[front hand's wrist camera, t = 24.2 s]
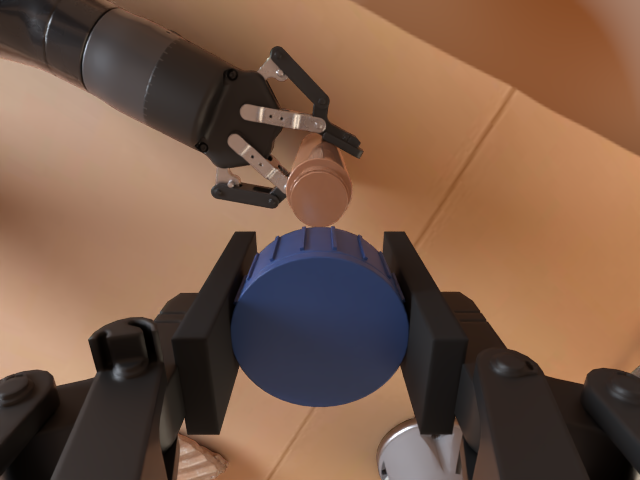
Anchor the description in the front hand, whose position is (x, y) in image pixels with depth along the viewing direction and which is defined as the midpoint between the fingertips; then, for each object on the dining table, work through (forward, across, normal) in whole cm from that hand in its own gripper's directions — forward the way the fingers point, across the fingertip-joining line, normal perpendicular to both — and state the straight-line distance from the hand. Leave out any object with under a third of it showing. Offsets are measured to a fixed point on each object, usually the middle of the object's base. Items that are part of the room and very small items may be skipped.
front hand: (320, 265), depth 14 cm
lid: (-4, 0, 0) cm, 4 cm away
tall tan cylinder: (+27, 0, 0) cm, 27 cm away
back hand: (+20, -2, +1) cm, 20 cm away
